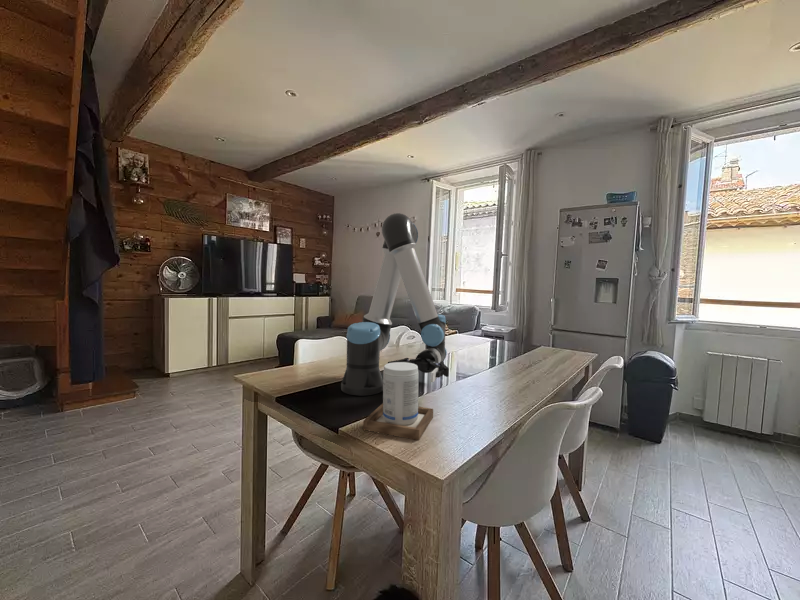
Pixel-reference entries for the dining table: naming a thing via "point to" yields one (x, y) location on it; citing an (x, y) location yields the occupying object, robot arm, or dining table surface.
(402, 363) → the supplement tub
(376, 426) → the holder tray
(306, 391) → the dining table surface
